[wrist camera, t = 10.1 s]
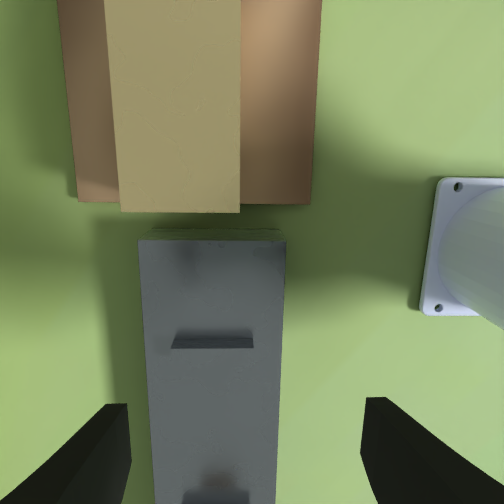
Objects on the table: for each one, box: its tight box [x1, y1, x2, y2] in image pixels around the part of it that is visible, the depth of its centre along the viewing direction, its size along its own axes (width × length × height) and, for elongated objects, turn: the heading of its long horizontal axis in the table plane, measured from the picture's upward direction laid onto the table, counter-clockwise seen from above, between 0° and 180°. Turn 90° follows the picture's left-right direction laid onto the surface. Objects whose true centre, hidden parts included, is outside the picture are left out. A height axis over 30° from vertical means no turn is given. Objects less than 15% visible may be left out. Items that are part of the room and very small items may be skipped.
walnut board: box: [57, 0, 322, 204], centre depth 17 cm, size 12×11×1 cm
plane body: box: [138, 228, 286, 504], centre depth 19 cm, size 7×22×7 cm, turn 179°
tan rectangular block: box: [104, 0, 241, 213], centre depth 15 cm, size 4×9×5 cm, turn 179°
